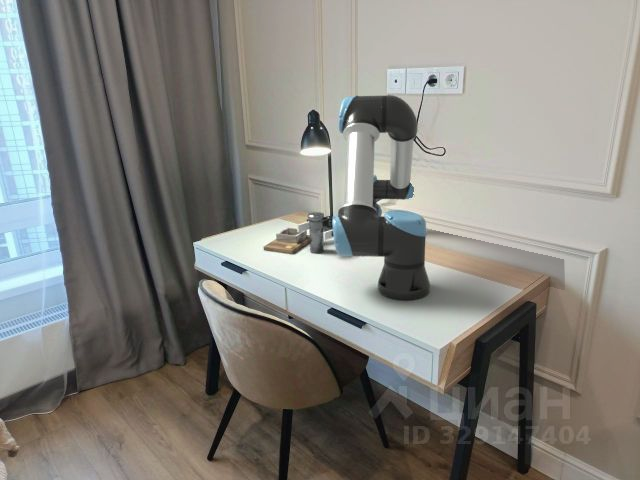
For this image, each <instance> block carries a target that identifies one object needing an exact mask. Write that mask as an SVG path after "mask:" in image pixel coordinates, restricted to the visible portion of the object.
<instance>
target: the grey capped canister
mask: <svg viewBox="0 0 640 480" xmlns="http://www.w3.org/2000/svg"><path fill="white" fill-rule="evenodd" d="M324 217H325V214H324V213H323V212H319V211H314V212H309V213H307V219H308V220H309V229H308V231H309V233H308V235H310V242H309V252H310V253H311V254H312V255H313V254H314V255H318V254H319V255H320V254H322V253H324V252H325V247H324V245H325V244H324V241H325V240H324V237H323V232H324V227H323V220H324Z"/></svg>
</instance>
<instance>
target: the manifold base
mask: <svg viewBox="0 0 640 480" xmlns="http://www.w3.org/2000/svg"><path fill="white" fill-rule="evenodd" d="M307 231H308V230H305V231H302V232H297V228H293V227H285V228H284V229H283V230H280V231H279V232H277V233H276V234H275V235H276V236H275V238H276V239H275V238H274V240H272V241H270V242H269V243H267V244H266V245H264V246H263V251H265V252H266V251H267V252H274V253H279V254H280V253H281V254H288V255H294V254H295V253H296V252H298V251H300V250H301V249H302V248H303V247H305V246H307V245H308V244H310V234H308V233H307Z"/></svg>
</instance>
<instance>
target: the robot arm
mask: <svg viewBox="0 0 640 480" xmlns="http://www.w3.org/2000/svg"><path fill="white" fill-rule="evenodd" d="M338 115H339V117H338V131H339V132H340V133H341V134H342V136H343V138H344V140H345V141H347V142H346V145H347V146H346V161H345V175H344V176H345V177H344V178H345V179H344V193H343V195H344V196H343V205H342V206H341V207H339V208H338V212H337V215H333V216H332V217H331V215H327V216H324V220H323V228H325V227H326V228H328V230H327V231H323V238H324V241H326V240H327V241H328V240H330V239H333V242H334V248H335V252H336V253H337V254H338V255H339V256H344V257H345V256H346V257H373V258H374V257H379V258H380V257H382V258H383V259H384V260H383V267H382V269H381V272H380V275H379V278H378V280H377V290H378V292H379V293H380V295H383V296H385V297H387V298H390V299H393V300H399V301H400V300H401V301H413V300H418V299H422V298H424V297H426V296H427V295H428V294H430V291H431V290H430V288H431V287H430V286H431V283H430V282H431V281H430V279H429V276H428V273H427V270H426V266H425V264H426V263H425V262H426V238H427V235H428V233H427V222H426V219H425V218H424V217H423V216H422V215H421V214H419V213H416V212H413V211H409V210H403V209H389V210H387V211H385V213H384V216H382V215H383V210H382V208H381V206H380V204H379V203H378V201H377V200H402V201H403V200H404V201H405V200H410V199H409V198H412V197H413V195H414V194H413V192H414V187H413V186H412V184H411V183H410V180H411V176H412V175H411V174H412V162H413V161H412V160H413V150H414V139H415V138H416V136H417V134H418V119H417V116H416V114H415V112H414V110H413V108H412V107H411V106H410V105H409V104H408V103H407V102H406V101H405V100H404V99H402V98H401V97H399V96H396V95H393V94H392V95H391V94H388V95H387V94H386V95H353V96H347V97H346V96H345V98H344V99H343V100H342V101H341V104H340V108H339V114H338ZM385 133H386V134H388V137H389V138H390V163H389V164H390V165H389V167H390V169H389V170H390V172H389V177H390V178H389V179H378V176H377V175H376V174H374V172H375V170H374V169H375V166H374V165H375V142H377V141H378V140H379V138H380V136H381V135H380V134H385ZM414 196H415V195H414ZM329 228H332V229H329ZM296 229H297V232H302V231H305V230H307V231H309V220H308V218H306V222H302V223H300V224H297V225H296Z"/></svg>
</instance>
